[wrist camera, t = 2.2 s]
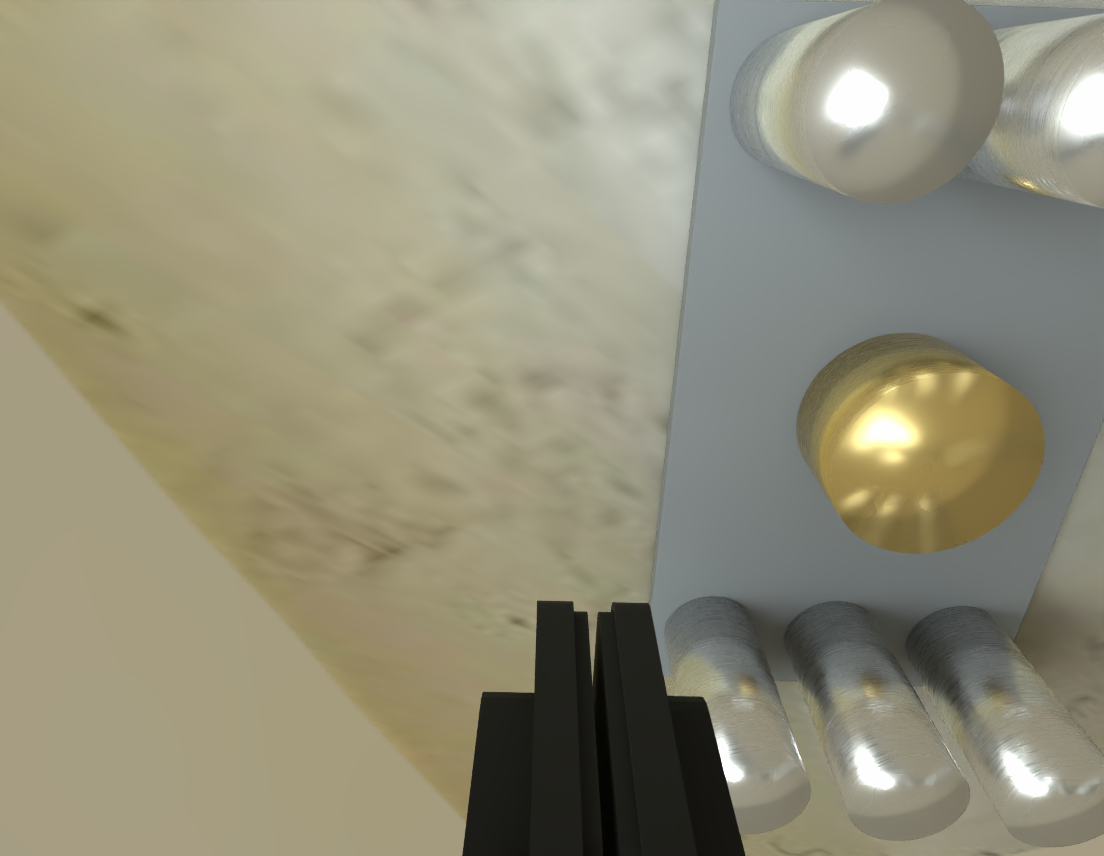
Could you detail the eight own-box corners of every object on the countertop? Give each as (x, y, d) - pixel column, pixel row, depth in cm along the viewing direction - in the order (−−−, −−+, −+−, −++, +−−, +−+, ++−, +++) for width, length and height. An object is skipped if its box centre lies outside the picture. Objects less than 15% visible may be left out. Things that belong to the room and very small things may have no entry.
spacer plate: (1244, 16, 16) (1267, 14, 15) (985, 675, 25) (994, 689, 24) (714, 1, 16) (719, -2, 16) (642, 662, 25) (643, 675, 24)
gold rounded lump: (1002, 335, 19) (1075, 377, 16) (951, 497, 21) (1007, 557, 18) (814, 329, 19) (854, 369, 16) (782, 490, 21) (813, 550, 18)
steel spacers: (1234, 39, 16) (1586, 10, 10) (984, 677, 24) (1105, 849, 18) (739, 24, 16) (826, -11, 10) (659, 664, 24) (685, 831, 19)
